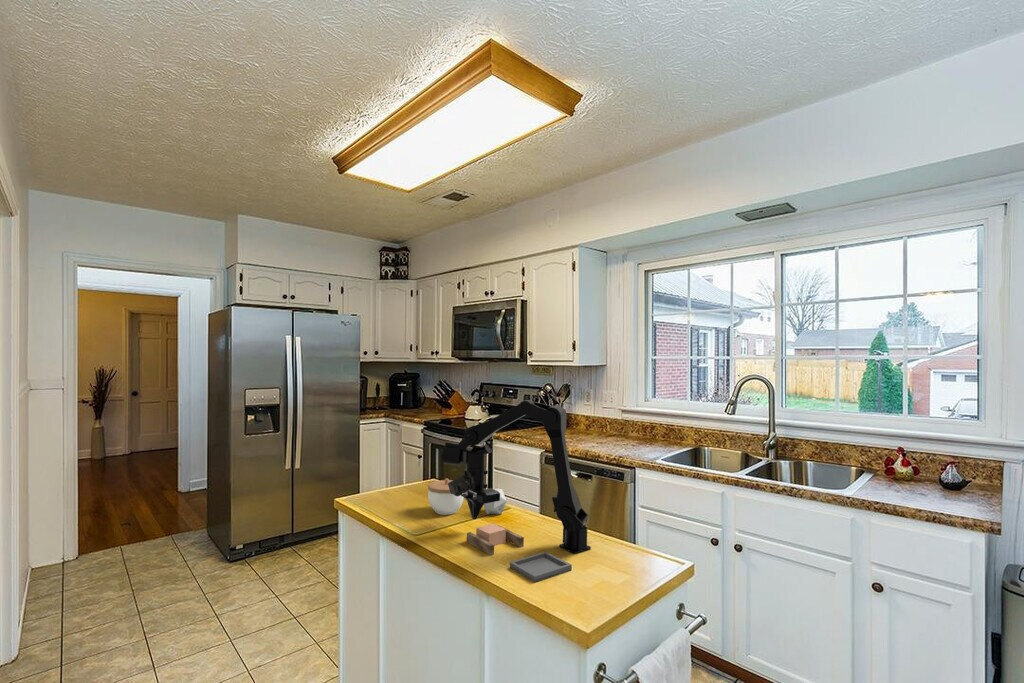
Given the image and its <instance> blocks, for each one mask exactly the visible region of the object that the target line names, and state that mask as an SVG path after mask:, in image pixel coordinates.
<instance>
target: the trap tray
mask: <svg viewBox="0 0 1024 683" xmlns="http://www.w3.org/2000/svg"><path fill="white" fill-rule="evenodd" d="M509 568H510V569H511V570H512V571H514V572H517V574H520V575H522V576H523V577H525V578H527V579H528V580H530V581H532V582H533V583H538V582H541V581H544V580H547V579H549V578H552V577H555V576H556V577H557V576H559V575H561V574H564V573H565V574H566V573H569V572H570V571H572V568H573V567H572V564H571V563H569V562H567V561H565V560H563V559H561V558H559V557H558V556H555V555H553V554H552V553H549V552H547V551H543V552H540V553H537V554H532V555H530V556H527V557H526V556H525V557H523V558H519V559H516V560H513V561H510V562H509Z"/></svg>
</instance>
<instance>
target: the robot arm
mask: <svg viewBox="0 0 1024 683" xmlns="http://www.w3.org/2000/svg"><path fill="white" fill-rule="evenodd" d="M525 416H528V417H531V418H532V419H535V420H537V421H539V422H541V423H542V424H543V427H544V430H545V433H546V434H547V436H548V438H549V440H550V441H549V442H550V446H551V447H550V448H551V453H552V460H553V467H554V474H555V479H556V487H557V492H556V493H555V494H554V495H553V496H552V497H551V500H552V504H553V506H554V507H553V513H556V517H557V519H559V520H560V521H561V524H562V527H563V528H562V543H560V544H559V547H560V548H562V549H563V550H566V551H568V552H571V553H572V554H579V553H583V552H585V551H588V550H591V548H592V546H590V545H588V527H586V525H585V524H586V523H587V522H588V519H589V515H588V513H587V512H586V511H585V510H584V509H583V507H582V504H581V500H580V498H579V494H578V493H577V491H576V489H575V487H574V485H573V478H572V473H571V467H570V459H569V453H568V447H567V441H566V440H567V439H566V430H567V411H566V410H565V408H564V407H562V406H560V405H548V404H545V403H541V402H537V401H533V400H531V399H526V400H522V401H521V402H520V403H519V404H516V405H515V406H513V407H511V408H509V409H508V410H506V411H504V412H502V413H500V414H499V415H496V416H495V417H493V418H492V419H490V420H488V421H484V422H481V423H478V424H475V425H472V426H469V427H467V428H465V430H464V434H463V438H462V439H461V440H460V441H459V442H454V441H450V440H448V441H445V444H444V447H443V449H442V452H441V455H440V456H441V457H440V458H441V462H442V464H444V465H453V466H463V465H464V463H465V469H463V470H462V473H461V475H460V476H459V477H456V478H455V479H452V480H453V481H451V482H449V483H448V487H449V490H450V493H451V494H453V495H455V496H460V495H461V496H462V497H464V499H465V500H466V502H467V505H468V508H469V513H470V516H471V519H472V520H477V519H478V516H479V514H480V513H481V510H482V509H483V508H484V504H486V503H491V502H496V501H500V493H499V492H498V491H497V490H494V489H495V488H488V483H486V482H485V480H486V478H485V477H486V475H488V474H489V471H488V470H487V469H486V455H489V454H490V453H492V452H493V449H492V448H490V447H489V445H488V444H486V443H485V444H484V445H483V446H478V445H480V444H483V443H484V442H486V441H488V440H489V439H490V438H491V437H492V436H494V434H496V433H497V432H498V431H499V430H501V429H503V428H504V427H507V426H508V425H510V424H512V423H514V422H515V421H517V420H519V419H521V418H523V417H525ZM468 447H472V448H468Z"/></svg>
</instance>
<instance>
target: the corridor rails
mask: <svg viewBox="0 0 1024 683" xmlns="http://www.w3.org/2000/svg"><path fill="white" fill-rule="evenodd" d="M497 526H499V527H502V528H504V529H506V542H507V541H508V542H509V543H511V544H513V545H515V546H517V547H519V548H523V547H524V546H525V544H524V543H525V537H524V536H522V535H520V534H517V533H516V532H514V531H511V530H510V529H508V528H506V527H503V526H501V525H497ZM466 543H468V544H470V545H471V546H473V547H475V548H477V549H478V550H480V551H482V552H483V553H486V554H487V555H489V556H493V555H495V546H494V545H493V544H491V543H489V542H488V541H486V540H484V539H482V538H480V537H479V536H477V535H476V533H475V534H474V533H473V532H471V531H468V532H466Z"/></svg>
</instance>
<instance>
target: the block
mask: <svg viewBox="0 0 1024 683" xmlns="http://www.w3.org/2000/svg"><path fill="white" fill-rule="evenodd" d="M499 526H500V525H499ZM499 526H498V525H497V524H495V523H490V524H486V525H482V526H479V527H476V531H475V532H476V533H475V535H477V536H479V537H480V538H482V539H484V540H486V541H488V542H489V543H491V544H493V545H494V547H495V546H498V545H499V546H500V545H503V544H505V543H506V542H507V540H506V529H507V528H506V529H504V528H505V527H503V526H501V527H499ZM502 527H503V528H502Z"/></svg>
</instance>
